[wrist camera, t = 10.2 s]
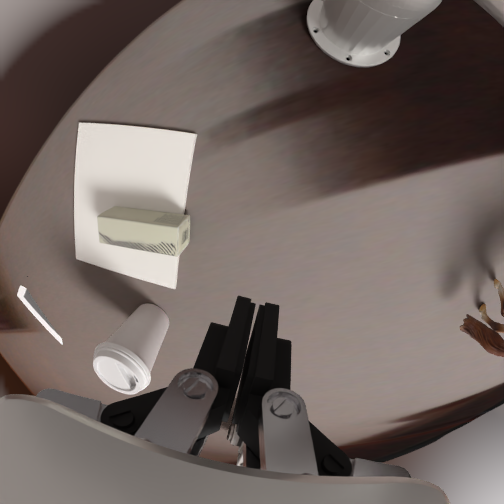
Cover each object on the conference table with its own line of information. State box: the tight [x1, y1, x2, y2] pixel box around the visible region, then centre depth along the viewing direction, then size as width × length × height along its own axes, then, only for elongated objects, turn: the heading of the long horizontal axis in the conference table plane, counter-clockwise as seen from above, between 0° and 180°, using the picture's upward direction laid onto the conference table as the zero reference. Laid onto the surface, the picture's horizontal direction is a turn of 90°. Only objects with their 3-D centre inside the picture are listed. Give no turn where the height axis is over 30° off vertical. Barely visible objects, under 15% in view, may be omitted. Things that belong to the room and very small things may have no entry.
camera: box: [227, 424, 244, 467], centre depth 55 cm, size 14×8×10 cm, turn 167°
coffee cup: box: [93, 303, 169, 394], centre depth 43 cm, size 10×10×15 cm
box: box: [97, 206, 190, 257], centre depth 39 cm, size 5×4×13 cm
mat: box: [74, 123, 197, 289], centre depth 41 cm, size 24×20×1 cm
